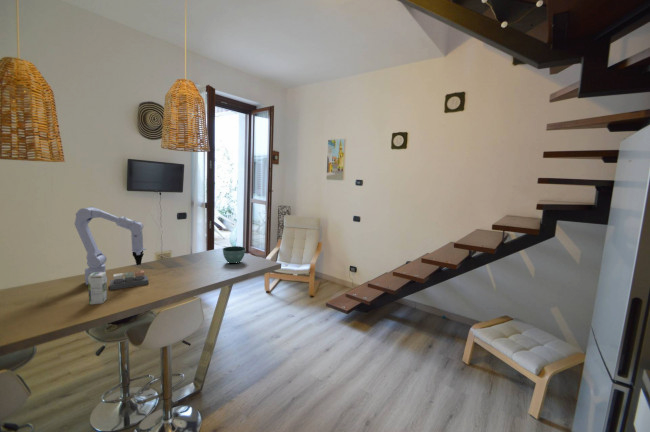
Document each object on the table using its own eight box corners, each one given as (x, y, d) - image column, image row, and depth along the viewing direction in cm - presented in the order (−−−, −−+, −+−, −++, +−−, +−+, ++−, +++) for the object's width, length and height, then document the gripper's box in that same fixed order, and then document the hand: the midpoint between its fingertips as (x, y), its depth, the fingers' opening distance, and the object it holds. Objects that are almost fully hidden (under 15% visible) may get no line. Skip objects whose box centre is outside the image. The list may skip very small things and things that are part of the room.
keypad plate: (110, 290, 155) (109, 285, 155) (110, 284, 163) (110, 280, 163) (148, 284, 165) (148, 279, 165) (147, 278, 173) (147, 275, 173)
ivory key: (114, 284, 158) (113, 276, 157) (114, 282, 161) (113, 274, 161) (123, 283, 160) (123, 275, 160) (123, 280, 164) (123, 273, 163)
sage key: (124, 282, 161) (124, 275, 160) (124, 280, 164) (124, 272, 164) (134, 281, 163) (133, 273, 163) (133, 279, 167) (133, 271, 166)
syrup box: (93, 300, 142) (91, 272, 140) (108, 298, 144) (106, 271, 142) (89, 304, 137) (86, 276, 135) (103, 303, 139) (101, 275, 137)
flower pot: (247, 259, 221) (247, 246, 219) (242, 266, 205) (242, 251, 203) (226, 259, 220) (226, 246, 218) (220, 265, 204) (219, 251, 202)
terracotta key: (135, 281, 164) (135, 273, 163) (135, 278, 167) (134, 271, 167) (144, 279, 166) (144, 272, 166) (143, 277, 170) (143, 270, 169)
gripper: (146, 243, 167) (147, 265, 169) (144, 239, 179) (145, 259, 180) (131, 245, 163) (132, 267, 165) (131, 240, 175) (132, 261, 176)
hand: (138, 263), depth 172 cm, fingers open, 4 cm apart
